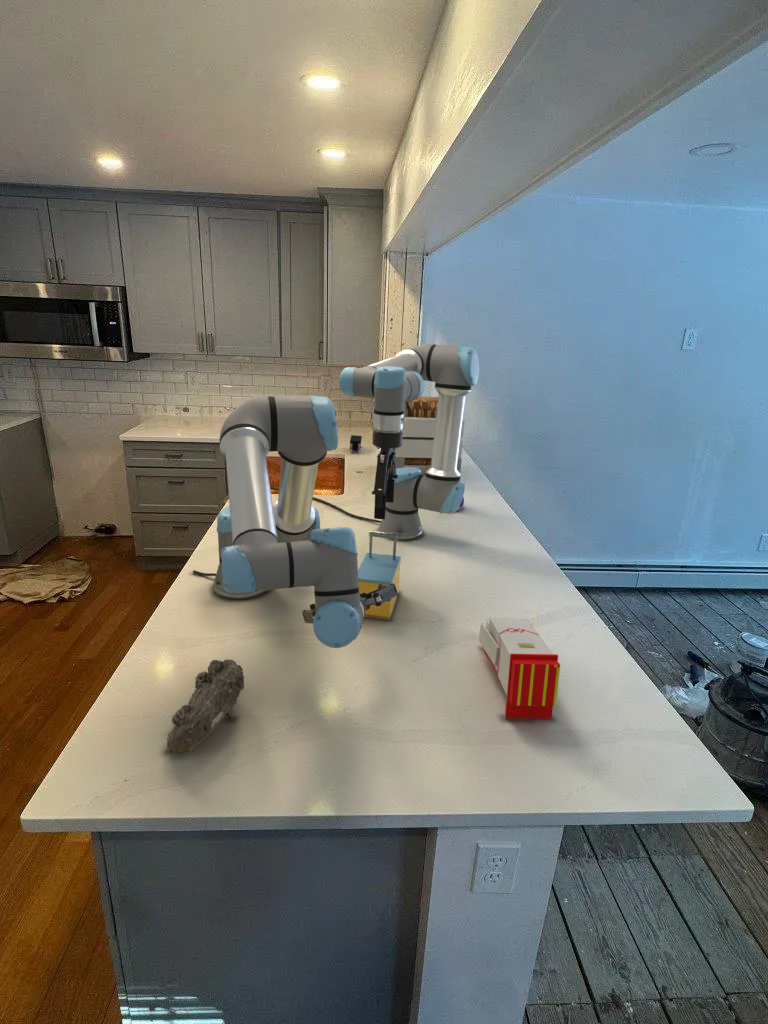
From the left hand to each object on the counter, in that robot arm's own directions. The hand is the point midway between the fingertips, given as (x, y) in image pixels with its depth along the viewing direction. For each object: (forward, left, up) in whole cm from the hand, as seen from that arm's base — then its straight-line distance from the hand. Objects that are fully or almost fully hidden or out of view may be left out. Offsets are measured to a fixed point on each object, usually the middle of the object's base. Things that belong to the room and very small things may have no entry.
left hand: (352, 598), depth 126 cm
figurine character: (-41, +188, -14) cm, 193 cm away
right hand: (+1, +30, +11) cm, 32 cm away
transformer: (-2, +155, -14) cm, 156 cm away
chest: (+2, +24, -14) cm, 28 cm away
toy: (+36, -1, -14) cm, 39 cm away
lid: (+2, +24, -4) cm, 24 cm away
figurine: (+17, +108, -14) cm, 110 cm away
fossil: (-21, -27, -14) cm, 37 cm away
